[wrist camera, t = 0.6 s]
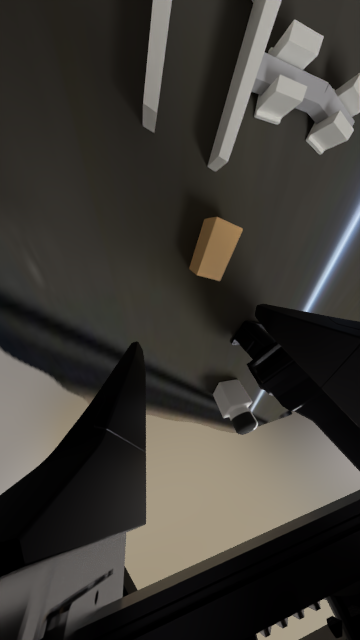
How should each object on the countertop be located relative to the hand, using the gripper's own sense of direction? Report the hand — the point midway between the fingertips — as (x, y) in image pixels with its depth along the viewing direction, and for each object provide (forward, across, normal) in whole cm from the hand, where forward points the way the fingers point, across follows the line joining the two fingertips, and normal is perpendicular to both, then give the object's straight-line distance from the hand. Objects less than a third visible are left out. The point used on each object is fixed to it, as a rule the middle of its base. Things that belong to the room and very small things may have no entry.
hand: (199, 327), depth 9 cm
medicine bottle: (+13, -9, +39) cm, 42 cm away
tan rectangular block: (+12, -6, -3) cm, 14 cm away
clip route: (+12, -16, -13) cm, 24 cm away
